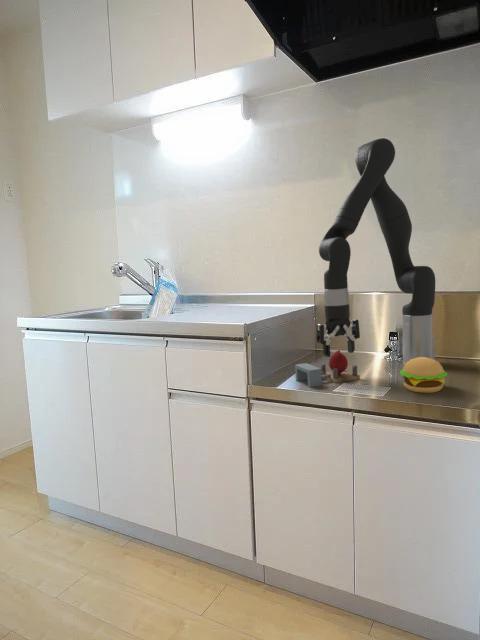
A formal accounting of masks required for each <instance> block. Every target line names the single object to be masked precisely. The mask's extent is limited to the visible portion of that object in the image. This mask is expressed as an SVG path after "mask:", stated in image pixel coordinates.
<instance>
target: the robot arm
mask: <svg viewBox="0 0 480 640" xmlns="http://www.w3.org/2000/svg"><path fill="white" fill-rule="evenodd" d="M395 157H396V149H395V146H394V144H393V142H392V141H391V140H390V139H388V138H385V137H384V138H377V139H375V140H374V139H373V140H371V141H370V142H369V141H368V142H367V143H364V144H362V145H360V146H359V147H358V148H357V150H356V152H355V155H354V161H355V165H356V168H357V171H358V173H359V175H360V178H359V180H358V181H357V182H356V183H355V185H354V187H353V188H352V189H351V190H350V192H349V193H348V195H347V196H346V197H345V198H344V200H343V202H342V204H341V205H340V207H339V210H338V212H337V214H336V216H335V218H334V220H333V221H334V222H333V223H332V225H331V226H330V227H329V228H328V230H327V231H326V233H325V234H324V236H323V238H322V239H321V242H320V244H319V246H318V247H319V248H318V253H319V256H320V258H321V259H322V260H324V261H326V262H329V263H328V269H327V270H326V271H325V272H324V274H323V284H324V285H323V287H324V292H323V293H324V295H323V299H324V300H323V301H324V304H323V305H324V318H325V323H322V324H321V323H316V343H318V344H319V345H322V354H323V355H324V357H327V358H329V357H331V346H330V344H331V341H332V340H333V339H334V338H335V337H339V336H344V337H346V339H347V341H346V342H347V353H350V354H352V353H354V352H355V347H356V346H355V341H356V340H357V339H360V337H361V335H360V321H359V320H358V319H355V318H351V319H350V317H351V314H350V313H351V311H350V296H349V288H348V287H349V284H348V271H349V267H350V260H351V255H352V254H351V245H350V243H349V241H348V240H347V239H348V237H349V236H351V235H353V234H354V233H355V232H356V230H357V228H358V225H359V223H360V222H361V220H362V216H363V214H364V212H365V211H366V208H367V206H368V204H369V203H370V201H371V204H372V206H373V209H374V211H375V214H376V217H377V222H378V223H379V228H380V230H381V233H382V235H383V238H384V241H385V243H386V246H387V250H388V253H389V256H390V260H391V265H392V269H393V273H394V278H395V281H396V284H397V287H398V289H399V290H400V291H402V293H405V294H411V296H412V297H411V301H410V302H409V303H407V304H405V305H403V306H402V309H401V311H402V365H403V366H405V364H406V363H407V362H408V361H409V360H411V359H414V358H418V357H427V358H430V359H433V360H436V359H435V352H436V351H435V349H436V348H435V336H434V335H433V308H434V307H435V306H434V305H435V303H436V302H435V298H436V275H435V272H434V270H433V269H432V268H431V267H430V266H427V265H414V264H413V261H412V258H411V255H410V249H409V247H410V241H411V238H412V237H411V236H412V233H413V225H412V220H411V217H410V215H409V212H408V208H407V206H406V205H405V203H404V201H403V200H402V198H400V196H399V195H397V194H396V193H395V192H394V190H393V189H392V188H391V187H390V186H389V184H388V182H387V180H386V174H387V172H388V171H389V169H390V168H391V166H392V164H393V162H394V161H395ZM349 327H351V330H350V329H349Z"/></svg>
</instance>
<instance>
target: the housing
mask: <svg viewBox="0 0 480 640" xmlns="http://www.w3.org/2000/svg"><path fill="white" fill-rule="evenodd" d="M294 367H295V368H294V369H295V372H294V373H295V381H296V382H300V381H301V382H302V381H306V380H307V386H308V387H309V388H312V387H313V388H314V387H319V386H322V385H323V384H322V383H323V379H321V367H318V366H315V365H314V364H313V365H312V364H310V363H306V362H305V363H298V364H295V365H294Z"/></svg>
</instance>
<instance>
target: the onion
mask: <svg viewBox="0 0 480 640" xmlns="http://www.w3.org/2000/svg"><path fill="white" fill-rule="evenodd" d="M328 366H329V369H330V370H332V371H333V369H334V368H337V369H338V375H339V374H341V373H342V372H343V371H344V370H345V371H346V369H347V368H348V366H349V363H348V359H347V357H346V355H344V354H343V353H342V352H341V350H340V349H336V350H335V352H334V353H333V354H332V355H330V358H329V360H328ZM332 371H331V372H332Z"/></svg>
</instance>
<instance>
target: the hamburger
mask: <svg viewBox="0 0 480 640" xmlns="http://www.w3.org/2000/svg"><path fill="white" fill-rule="evenodd" d="M399 373H400V375H401V377H402V379H404V382H403V385H404V387H405V389H406V390H408V391H410V392H416V393H424V394H430V393H431V394H432V393H437V392H440V391H441V390H442V389H443V387H444V384H445V383H446V379H445V377H447V374H448V373H447V371H445V370H444V368H443V366H442V364H441V363H440V362H439V361H437V360H436V359H435V360H433V359H430V358H427V357H418V358H414V359H411V360H409V361H408V362H407V363H406V364H405V365H403V368H402V369H401V370H400V371H399Z"/></svg>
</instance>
